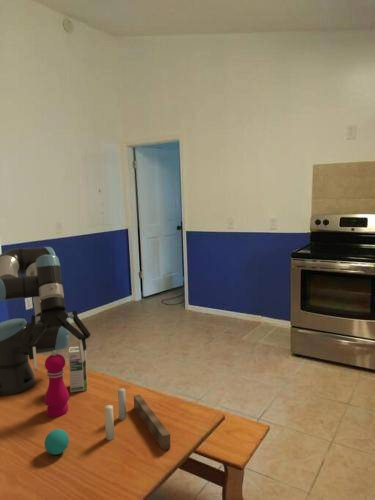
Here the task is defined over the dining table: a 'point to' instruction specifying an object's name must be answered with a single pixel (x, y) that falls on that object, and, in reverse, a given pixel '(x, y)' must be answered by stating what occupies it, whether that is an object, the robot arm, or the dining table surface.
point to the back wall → (152, 422)
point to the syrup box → (77, 370)
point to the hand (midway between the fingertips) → (59, 365)
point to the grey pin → (122, 403)
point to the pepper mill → (56, 386)
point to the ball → (56, 441)
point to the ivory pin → (109, 422)
